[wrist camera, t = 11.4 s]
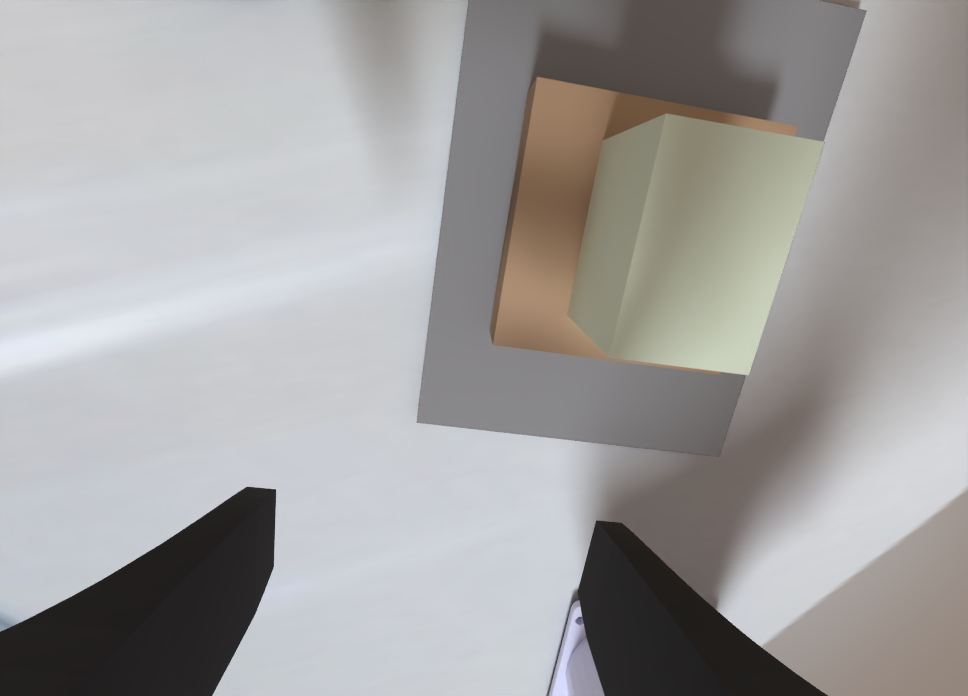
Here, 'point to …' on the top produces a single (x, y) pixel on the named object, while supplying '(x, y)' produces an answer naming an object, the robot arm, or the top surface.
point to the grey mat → (490, 175)
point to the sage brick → (689, 240)
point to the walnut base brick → (567, 207)
